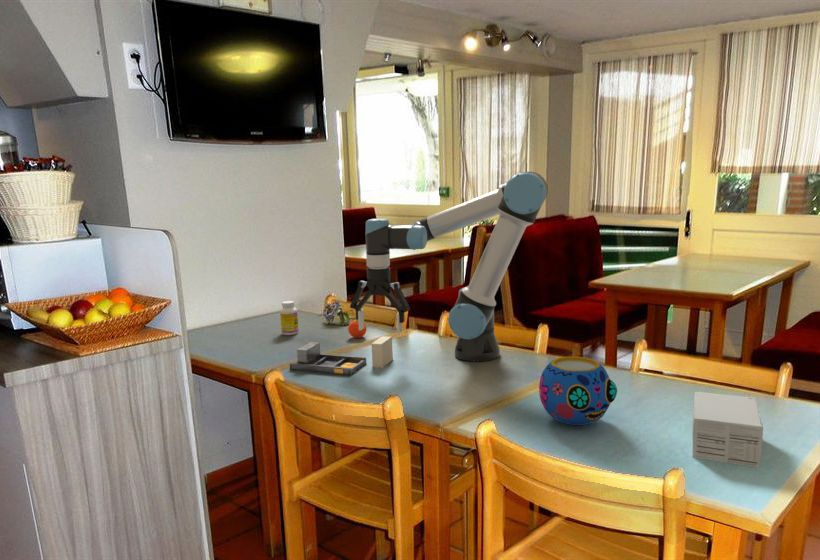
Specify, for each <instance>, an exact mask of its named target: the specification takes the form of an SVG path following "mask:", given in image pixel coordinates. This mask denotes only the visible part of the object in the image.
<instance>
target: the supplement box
mask: <svg viewBox="0 0 820 560" xmlns="http://www.w3.org/2000/svg"><path fill="white" fill-rule="evenodd" d="M692 412H693V413H692V458H695V459H701V460H709V461H715V462H722V463H729V464H736V465H741V466H748V467H755V468H761V461H762V459H761V458H762V447H763V435H764V426H763V422H762V417H761V415H760V410H759V405H758V399H757V397H750V396H742V395H741V396H740V395H732V394H722V393H721V394H720V393H711V392H704V391H695V392H694V399H693V410H692Z"/></svg>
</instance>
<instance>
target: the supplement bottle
mask: <svg viewBox="0 0 820 560" xmlns="http://www.w3.org/2000/svg"><path fill="white" fill-rule="evenodd" d="M281 306H282V308H281V309H280V310H279V313H280V327H281V328H280V329H281V334H282V335H283V336H295V335H297V334H298V333H299V320H298V319H299V318H298V309H297V308H296V307H295V301H294V300H285V301H283V302H281Z"/></svg>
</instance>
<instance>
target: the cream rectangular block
mask: <svg viewBox="0 0 820 560" xmlns="http://www.w3.org/2000/svg"><path fill="white" fill-rule="evenodd" d="M370 345H371V363H372V365H371V366H372V368H378V367H381V368H380V369H383V368H384V367H386V366H387V365H389V363H390V362H392V361H393V359H394V357H393V356H394V355H393V337H392V336H387V335H386V336H384V335H382V336H380V337H378V338H377V339H376V340H374V341H373V342H372V343H371V344H370ZM391 360H392V361H391ZM386 364H387V365H386ZM382 367H383V368H382Z"/></svg>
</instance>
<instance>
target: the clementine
mask: <svg viewBox="0 0 820 560" xmlns="http://www.w3.org/2000/svg"><path fill="white" fill-rule="evenodd" d="M347 331H348V334H349V335H350V336H351V337H352V338H355V339H360V338H363V337H364V336H365V334H366V333H367V325H366V324H365V322H364V329H362V330H359V323H358V320H357V319H353V320H352V321H350V323H349V324H348V329H347Z"/></svg>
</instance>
